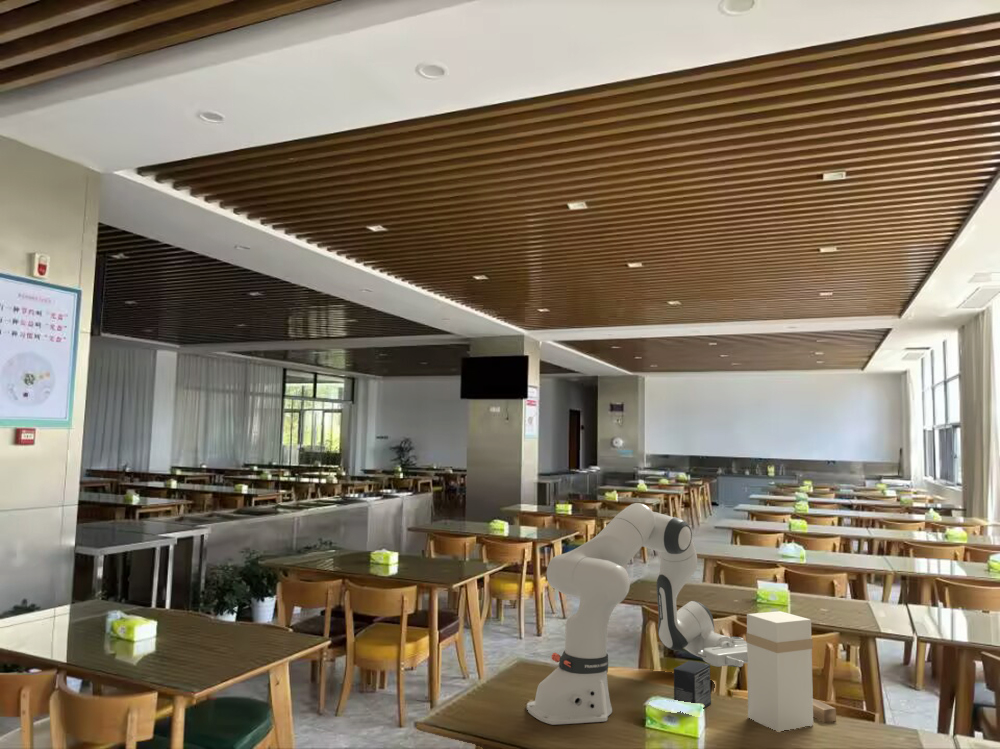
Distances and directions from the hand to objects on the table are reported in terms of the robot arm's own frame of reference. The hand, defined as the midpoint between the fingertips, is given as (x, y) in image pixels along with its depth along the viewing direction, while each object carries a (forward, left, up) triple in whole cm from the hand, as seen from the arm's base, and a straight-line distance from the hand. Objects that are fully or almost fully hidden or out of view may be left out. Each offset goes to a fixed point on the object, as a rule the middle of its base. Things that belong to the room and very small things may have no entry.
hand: (753, 662), depth 203 cm
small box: (-28, -6, -7) cm, 30 cm away
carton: (-14, -23, -7) cm, 28 cm away
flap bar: (-1, -18, -7) cm, 20 cm away
